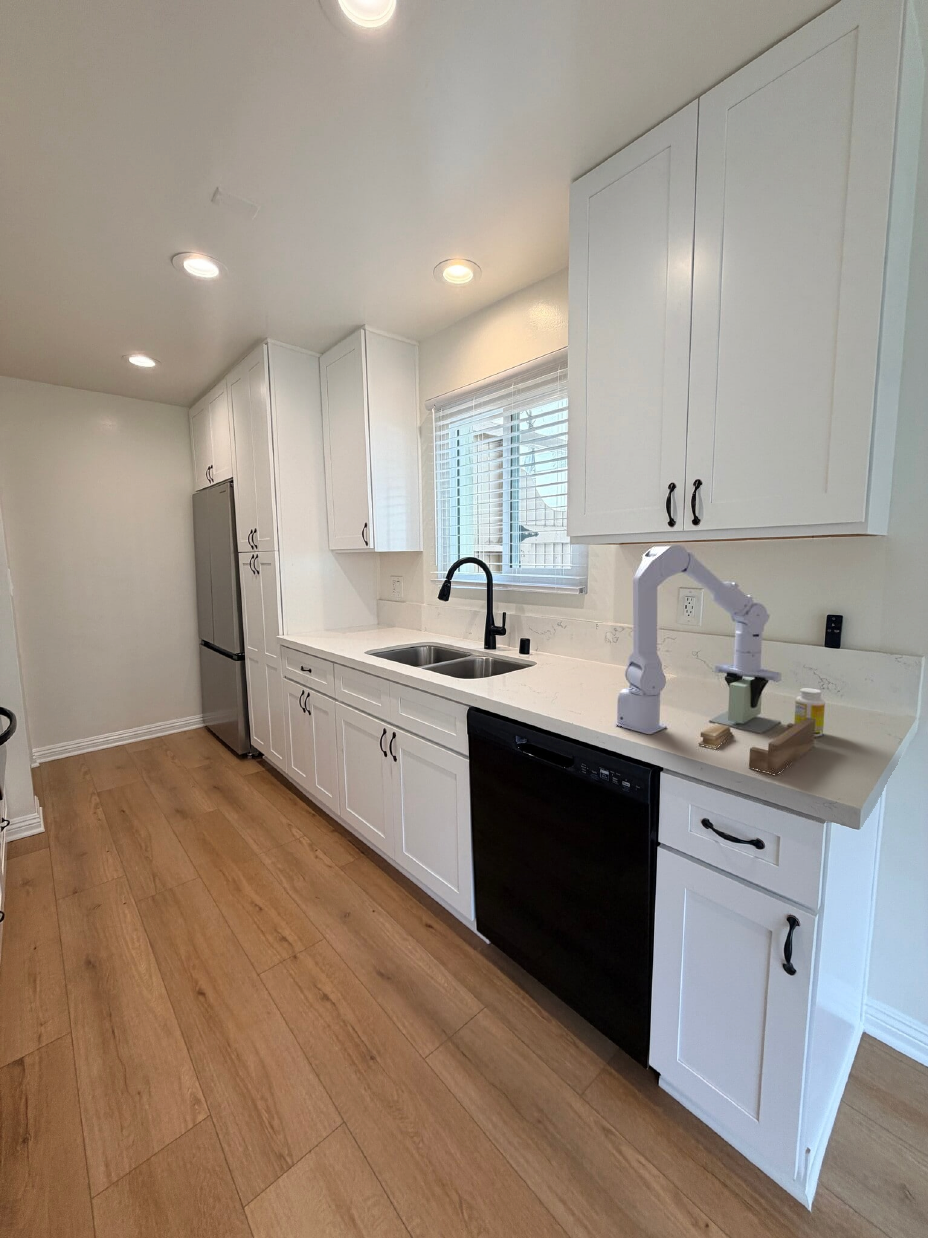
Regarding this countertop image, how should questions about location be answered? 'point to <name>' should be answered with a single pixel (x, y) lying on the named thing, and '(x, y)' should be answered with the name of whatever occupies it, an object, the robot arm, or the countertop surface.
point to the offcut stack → (715, 735)
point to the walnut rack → (784, 748)
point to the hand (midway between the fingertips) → (745, 705)
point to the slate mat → (747, 723)
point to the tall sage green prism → (742, 701)
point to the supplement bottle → (810, 708)
